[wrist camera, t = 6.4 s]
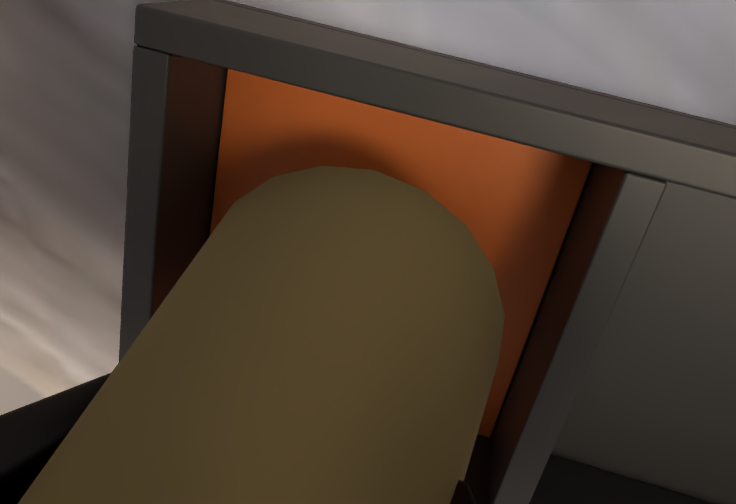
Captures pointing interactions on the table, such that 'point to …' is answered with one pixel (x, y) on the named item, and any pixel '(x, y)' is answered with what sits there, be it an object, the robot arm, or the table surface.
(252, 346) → the olive knobbed cylinder
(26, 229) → the table surface
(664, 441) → the divided tray
